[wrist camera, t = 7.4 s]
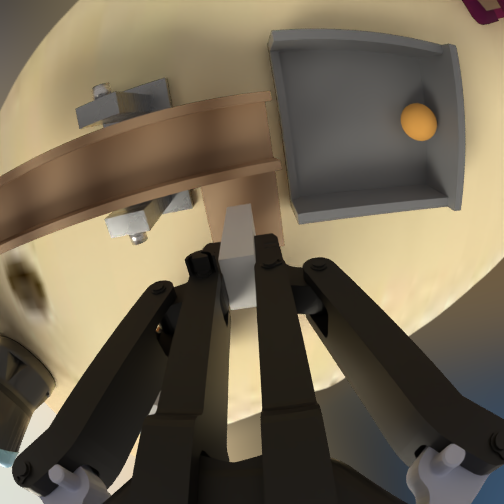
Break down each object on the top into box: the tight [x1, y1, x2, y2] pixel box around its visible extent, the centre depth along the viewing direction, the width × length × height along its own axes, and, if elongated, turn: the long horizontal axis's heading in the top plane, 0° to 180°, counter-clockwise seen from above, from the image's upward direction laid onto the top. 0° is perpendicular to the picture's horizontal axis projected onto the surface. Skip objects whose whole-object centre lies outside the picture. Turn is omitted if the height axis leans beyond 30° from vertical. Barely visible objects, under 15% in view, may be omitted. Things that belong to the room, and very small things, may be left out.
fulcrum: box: [76, 78, 194, 245], centre depth 18 cm, size 6×11×7 cm, turn 9°
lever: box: [0, 91, 284, 254], centre depth 16 cm, size 24×11×3 cm, turn 98°
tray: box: [267, 29, 465, 224], centre depth 17 cm, size 14×14×5 cm
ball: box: [401, 103, 437, 141], centre depth 17 cm, size 3×3×3 cm
